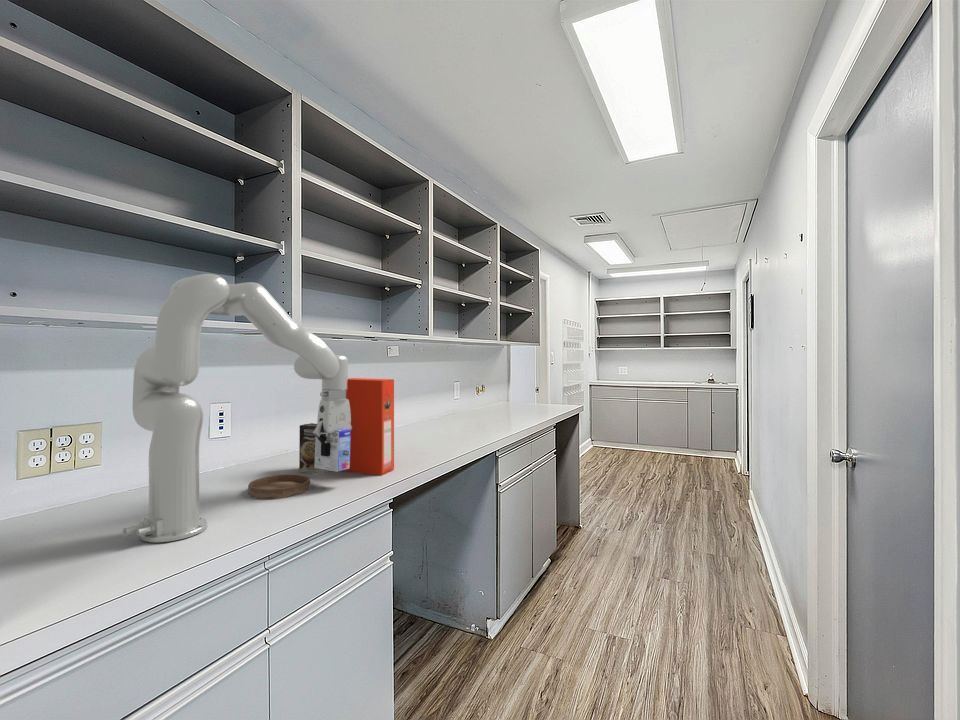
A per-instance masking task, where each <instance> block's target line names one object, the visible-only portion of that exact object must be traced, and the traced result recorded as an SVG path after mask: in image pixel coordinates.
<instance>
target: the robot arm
mask: <svg viewBox="0 0 960 720" xmlns="http://www.w3.org/2000/svg"><path fill="white" fill-rule="evenodd" d="M208 315H211V316H212V315H214V316H227V317H228V316H229V317H240V316H242V317H243V316H244V317H246V319H247V320H248V321H249V322H250V323H251V324H252V325H253V326H254V327H255V328H256V329H257V330H258V331H259V332H260V333H261V334H262V335H263V336H264V338H265V339H266V340H267V341H268V342H270V343H271V344H273V345H275V346H277V347H280V348H282V349H285V350H288V351H291V352H293V353H295V354H297V355H299V356H298V357H297V358H296V359H295V361H294V363H293V370H294V372H295V374H297V376H298V377H300V378H303V379H306V380H307V379H309V380H321V392H320V393H319V395H320V397H321V399H320V400H319V406H318V410H317V419H316V420H317V421H316V424H317V427H316V428H315V430H314V432H313V434H314V435H315V436H316V437H317V438H318V439H319V442H320V443H321V456H327V457H328V456H330V443H328V442H329V439H330V435H331V434H333V433H334V431H335V430H341V429H350V430H351V429H352V426H351V411H350V403H349V399H347V382H348V374H349V359H348V357H347V356H345V355H342V354H340V355H337V354H335V353H334V352H333V350H332V349H331V348H330V347H329V345H327V344H326V343H325V341H323V340H322V339H321V338H320V337H318V336H317V335H316V334H314V333H313V332H311V331H309V329H307V328H305V327H304V326H302V325H300V324H299V323H297V322H296V321H295V320H294V319H293V318H292V317H291V316H290V315H289V314H288V312H286V310H285V309H284V308H283V307H282V306H281V305H280V303H279V302H278V301H277V300H276V299H275V298H274V297H273V296H272V294H271V293H270V292H269V291H268V290H267V289H266V288H265V286H263V285H262V284H260V283H257V282H252V281H250V282H240V283H231V284H230V283H228V282H227V280H226V279H225V278H224V277H222V276H220V275H218V274H214V273H203V274H198V275H193V276H188V277H187V276H186V277H183V278H180V279H178V280H177V281H175V282H174V283H173V284H172V285H171V287H170V290H169V295H168V296H167V298H166V299H165V300H164V301H163V304H162V305H161V307H160V310H159V312H158V315H157V320H156V321H157V322H156V328H155V329H156V331H155V337H154V345H153V346H151V347H148V348H146V349H145V350H143V351H142V352H141V354H139V356H138V357H137V359H136V361H135V363H134V364H135V365H134V368H133V369H134V370H133V383H132V384H133V385H132V406H131V407H132V415H133V419H134V421H135V422H136V424H137V425H138V426H139V427H141V428H142V429H144V430H146V431H150V432H152V436H151V440H150V443H149V448H148V449H149V450H148V515H145V516H143V520H142V521H140V522H139V523H138V524H136V525H134V524H133V525H129V526H126V527H123V528H122V535H123V536H124V537H125V538H127V537H130V536H133V535H136V536H137V537H138V536H139V537H140V540H141V541H144V542H147V543H156V544H157V543H168V542H175V541H179V540H184V539H187V538H190V537H193V536H195V535H198V534H201V533H202V532H204V530H205V529H207V528H208V520H206V519H205V518H203V517H200V440H201V434H202V429H203V428H202V427H203V423H204V422H203V421H204V412H203V407H202V406H201V404H200V403H199V401H198V400H197V399H196V398H194V397H193V396H190V395H189V394H186V393H181V392H180V387H185V386H188V385H190V384H192V383H193V382H194V381H195V380H196V379H197V377H198V375H199V372H200V356H201V355H200V352H201V351H200V350H201V336H202V335H201V334H202V327H203V324H204V321H205V320H206V318H207V316H208ZM325 435H326V438H325Z"/></svg>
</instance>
